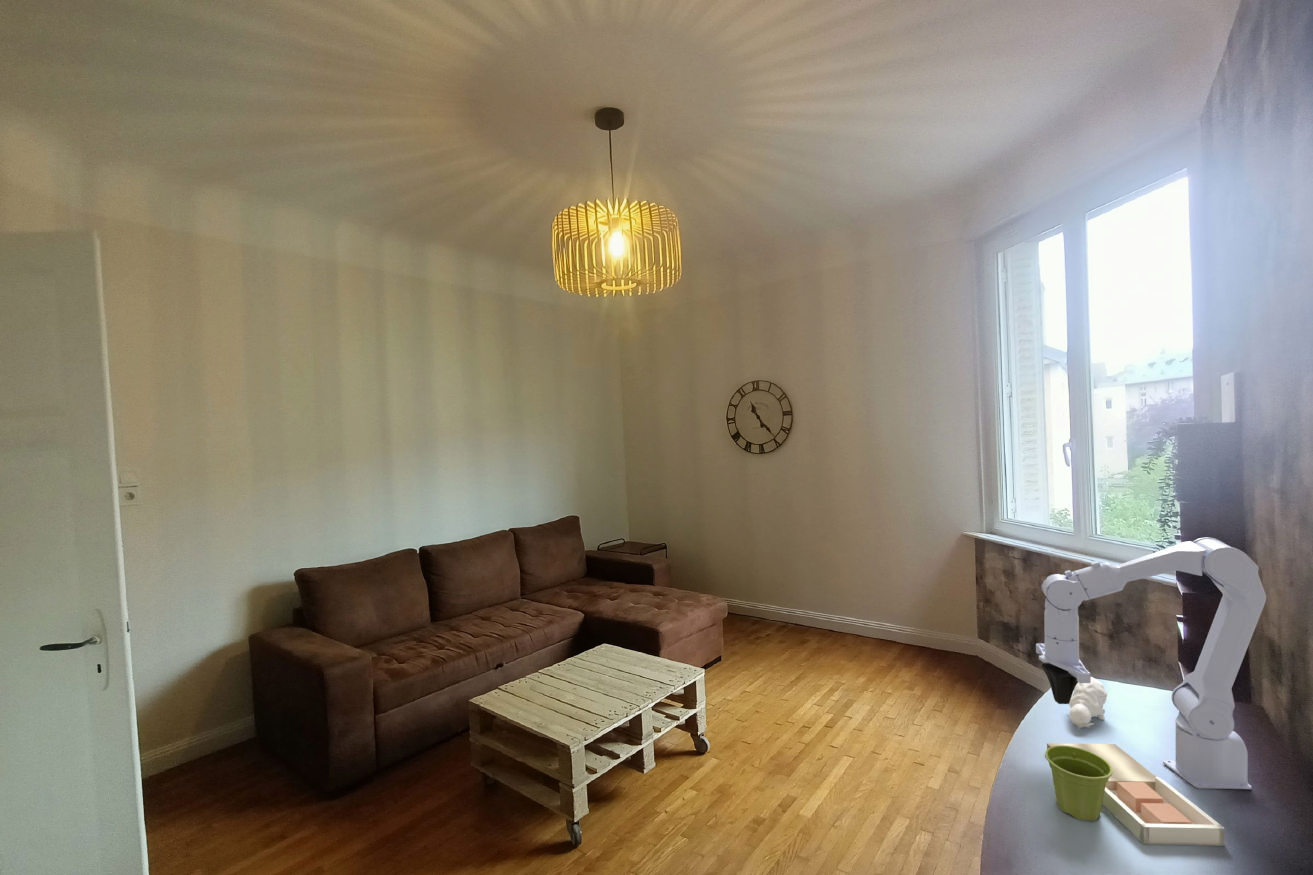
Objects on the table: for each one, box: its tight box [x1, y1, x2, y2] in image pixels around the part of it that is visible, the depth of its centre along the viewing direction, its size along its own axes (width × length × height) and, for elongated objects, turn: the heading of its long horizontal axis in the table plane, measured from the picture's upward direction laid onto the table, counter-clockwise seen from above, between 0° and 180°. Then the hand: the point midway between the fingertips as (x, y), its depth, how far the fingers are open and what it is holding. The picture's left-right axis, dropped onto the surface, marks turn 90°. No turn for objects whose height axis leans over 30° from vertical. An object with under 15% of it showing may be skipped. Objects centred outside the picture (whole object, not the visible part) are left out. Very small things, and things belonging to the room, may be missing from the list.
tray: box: [1102, 776, 1226, 847], centre depth 99 cm, size 12×13×3 cm
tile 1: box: [1117, 782, 1164, 813], centre depth 101 cm, size 4×4×2 cm
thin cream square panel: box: [1046, 742, 1157, 791], centre depth 111 cm, size 13×12×2 cm
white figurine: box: [1066, 676, 1108, 729], centre depth 129 cm, size 6×8×12 cm
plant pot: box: [1044, 745, 1113, 822], centre depth 101 cm, size 9×9×9 cm
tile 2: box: [1141, 803, 1192, 824], centre depth 96 cm, size 4×4×2 cm
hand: (1061, 702), depth 118 cm, fingers closed
